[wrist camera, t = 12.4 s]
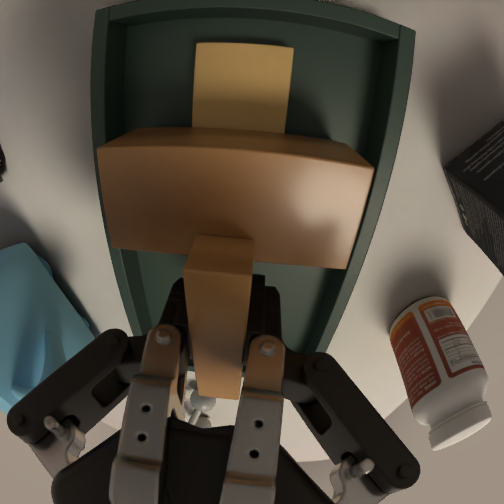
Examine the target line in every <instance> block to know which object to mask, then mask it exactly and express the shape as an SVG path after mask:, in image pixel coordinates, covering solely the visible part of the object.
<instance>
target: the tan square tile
mask: <svg viewBox="0 0 504 504" xmlns="http://www.w3.org/2000/svg"><path fill="white" fill-rule="evenodd" d="M293 53H294V48H292V47H284V46H276V45H265V44H252V43H229V42H203V43H197V44H196V54H195V69H194V86H193V109H192V127H197V128H224V129H240V130H253V131H264V132H274V133H283V134H285V125H286V117H287V108H288V99H289V91H290V81H291V72H292V63H293Z"/></svg>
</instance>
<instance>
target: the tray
mask: <svg viewBox="0 0 504 504" xmlns="http://www.w3.org/2000/svg"><path fill="white" fill-rule="evenodd" d="M415 34H416V32H415V30H412V29H410V28H408V27H405V26H403V25H399V24H398V23H395V22H392V21H390V20H387V19H384V18H381V17H378V16H375V15H372V14H369V13H366V12H362V11H359V10H355V9H352V8H348V7H344V6H340V5H336V4H331V3H327V2H322V1H317V0H137V1H132V2H127V3H123V4H118V5H114V6H111V7H107V8H103V9H100V10H97V11H96V14H95V22H94V31H93V42H92V57H91V123H92V139H93V151H94V162H95V170H96V179H97V186H98V193H99V199H100V206H101V212H102V217H103V223H104V228H105V233H106V238H107V242H108V247H109V251H110V256H111V260H112V264H113V268H114V272H115V276H116V280H117V284H118V287H119V291H120V294H121V298H122V301H123V305H124V308H125V311H126V314H127V318H128V321H129V324H130V327H131V330H132V333H133V336H142V335H146V334H148V332H149V331H150V330H151V329H152V328H153V327H154V326H157V325H158V323H159V321H160V318H161V315H162V312H163V310H164V307H165V304H166V301H167V300H168V296H169V294H170V291H171V288H172V285H173V284H174V283H175V282H176V281H177V280H178V279H179V278H180V277H181V278H183V268H184V266H185V263H186V260H187V258H188V255H178V254H168V253H158V252H148V251H138V250H128V249H118V248H112V245H111V241H110V236H109V231H108V226H107V220H106V215H105V209H104V203H103V197H102V190H101V183H100V175H99V167H98V157H97V148H99V147H100V146H102V145H104V144H106V143H108V142H110V141H112V140H114V139H116V138H118V137H120V136H122V135H124V134H126V133H129V132H131V131H133V130H135V129H137V128H152V127H154V126H192V109H193V86H194V69H195V54H196V44H197V43H203V42H229V43H252V44H265V45H276V46H284V47H292V48H294V53H293V63H292V72H291V81H290V91H289V99H288V108H287V117H286V125H285V133H292V134H300V135H307V136H314V137H320V138H326V139H332V140H334V141H337V142H342V143H346V144H347V145H348V146H350V147H351V148H352V149H353V150H354V151H356V152H357V153H358V154H359V155H360V156H361V157H363V158H364V159H365V160H366V161H367V162H368V163H369V164H371V165H372V166H373V167H374V173H373V178H372V182H371V186H370V189H369V193H368V197H367V201H366V205H365V208H364V212H363V215H362V219H361V222H360V226H359V229H358V232H357V236H356V239H355V242H354V245H353V249H352V252H351V255H350V258H349V261H348V264H347V267H346V269H334V268H322V267H310V266H298V265H287V264H275V263H264V262H253V274H262V275H265V286H274V287H276V289H277V290H278V292H279V294H280V302H281V304H280V305H281V324H282V339H283V342H284V344H285V345H286V346H287V347H288V348H289V349H290V350H292V351H293V352H296V353H299V354H302V355H305V356H308V355H309V354H311V353H313V352H324V353H325V352H326V350H327V348H328V346H329V344H330V342H331V340H332V337H333V335H334V333H335V331H336V329H337V326H338V324H339V322H340V320H341V317H342V315H343V313H344V310H345V308H346V306H347V303H348V301H349V298H350V296H351V294H352V291H353V289H354V286H355V283H356V281H357V278H358V276H359V273H360V271H361V268H362V265H363V262H364V260H365V257H366V254H367V251H368V249H369V246H370V243H371V240H372V237H373V234H374V231H375V228H376V225H377V222H378V219H379V215H380V212H381V209H382V206H383V202H384V199H385V195H386V192H387V188H388V185H389V181H390V177H391V174H392V170H393V166H394V162H395V158H396V154H397V149H398V145H399V140H400V136H401V131H402V126H403V121H404V116H405V111H406V105H407V100H408V93H409V87H410V80H411V73H412V65H413V56H414V46H415ZM245 370H246V366H244V365H243V368H242V377H244V376H245ZM187 371H194V372H195V369H194V362H193V360H191V359H189V362H188V367H187Z"/></svg>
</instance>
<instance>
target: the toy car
mask: <svg viewBox="0 0 504 504" xmlns="http://www.w3.org/2000/svg"><path fill="white" fill-rule="evenodd" d="M4 163H5V159H4V154H3V152H2V151H1V149H0V172H1V171H2V169H3V167H4ZM2 181H3V179H2V177H1V174H0V182H2Z"/></svg>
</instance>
